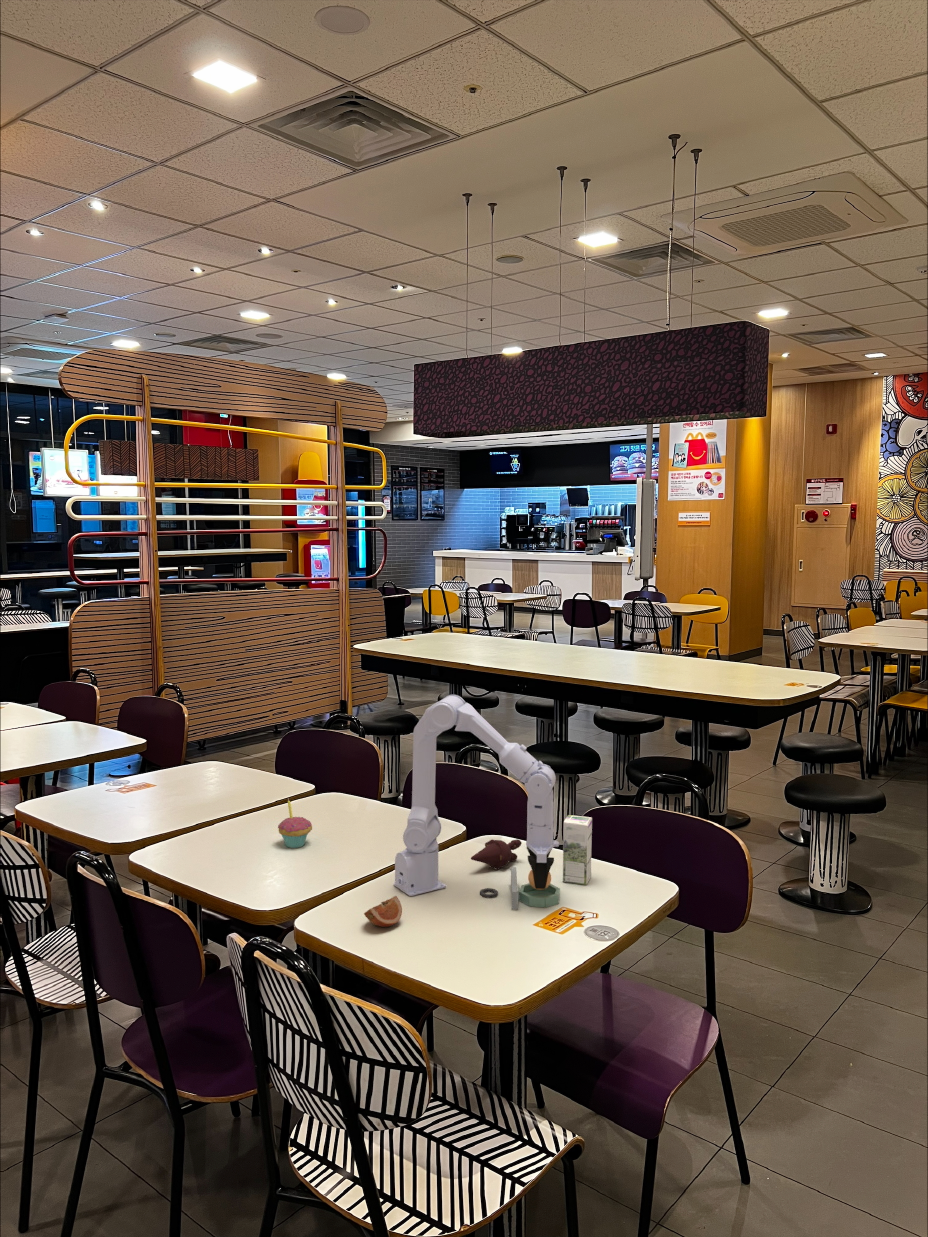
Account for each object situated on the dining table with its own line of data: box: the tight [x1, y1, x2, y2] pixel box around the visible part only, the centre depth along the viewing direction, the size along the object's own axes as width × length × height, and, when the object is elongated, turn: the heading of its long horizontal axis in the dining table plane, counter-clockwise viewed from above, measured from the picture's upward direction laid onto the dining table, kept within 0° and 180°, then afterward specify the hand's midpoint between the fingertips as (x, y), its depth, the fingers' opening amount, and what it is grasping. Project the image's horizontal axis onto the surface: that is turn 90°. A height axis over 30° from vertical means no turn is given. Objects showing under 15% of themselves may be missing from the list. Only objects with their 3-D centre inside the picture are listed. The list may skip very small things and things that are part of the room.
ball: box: [527, 869, 552, 890], centre depth 192 cm, size 5×5×5 cm
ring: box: [479, 887, 499, 899], centre depth 195 cm, size 4×4×1 cm
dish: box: [518, 882, 561, 909], centre depth 193 cm, size 9×9×2 cm
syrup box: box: [562, 814, 593, 886], centre depth 203 cm, size 6×6×14 cm
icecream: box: [470, 839, 522, 870], centre depth 211 cm, size 7×7×15 cm
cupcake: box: [277, 797, 313, 849], centre depth 226 cm, size 9×8×12 cm
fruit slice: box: [363, 895, 403, 928], centre depth 180 cm, size 8×7×5 cm
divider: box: [510, 866, 519, 911], centre depth 194 cm, size 14×1×4 cm, turn 178°
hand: (539, 883), depth 193 cm, fingers closed on ball, 5 cm apart
